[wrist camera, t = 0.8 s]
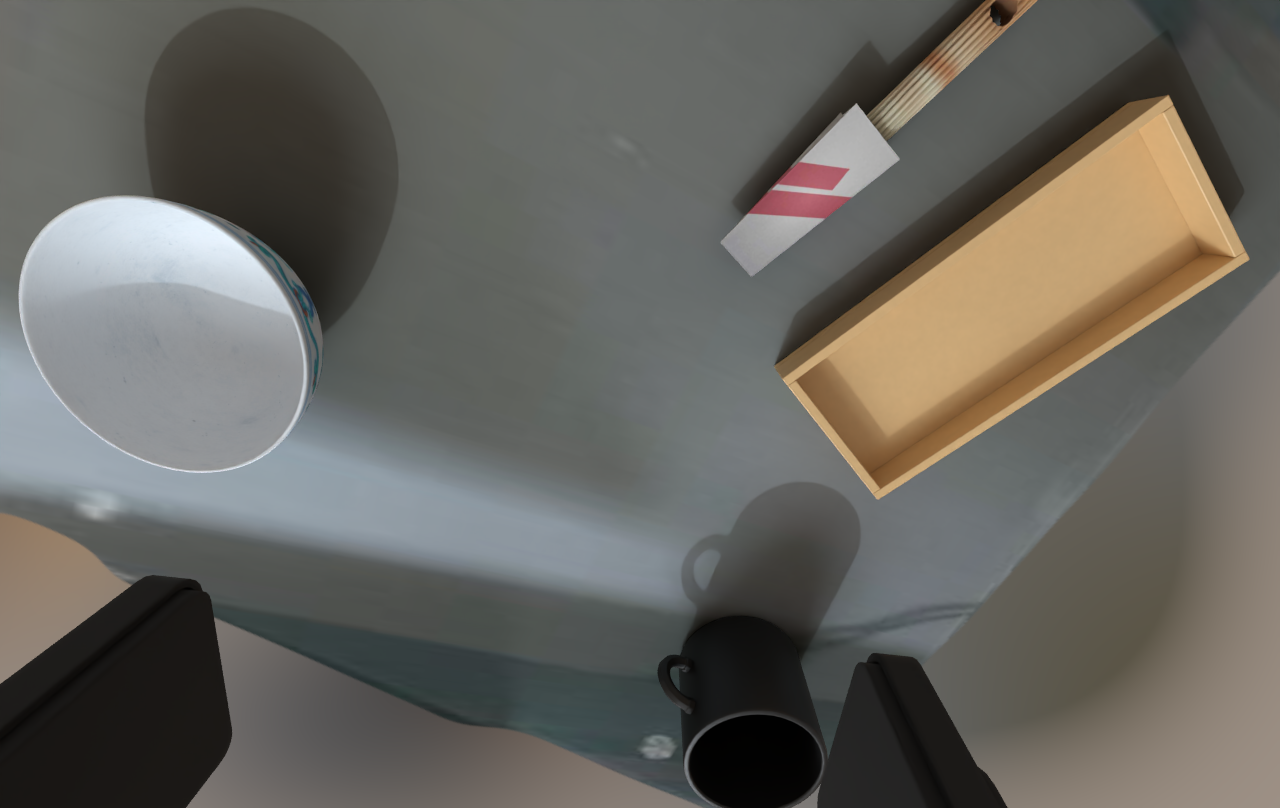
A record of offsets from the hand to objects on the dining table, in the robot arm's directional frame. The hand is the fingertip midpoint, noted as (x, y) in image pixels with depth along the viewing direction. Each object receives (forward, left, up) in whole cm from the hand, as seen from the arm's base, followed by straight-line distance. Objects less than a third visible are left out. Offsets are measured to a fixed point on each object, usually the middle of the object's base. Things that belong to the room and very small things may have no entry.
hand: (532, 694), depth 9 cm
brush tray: (+15, +17, -31) cm, 38 cm away
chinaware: (-15, -19, -31) cm, 40 cm away
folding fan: (+1, +17, -31) cm, 36 cm away
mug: (+26, -12, -31) cm, 43 cm away
